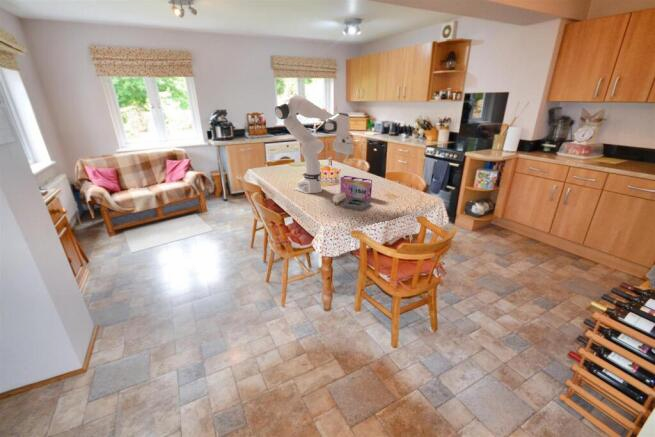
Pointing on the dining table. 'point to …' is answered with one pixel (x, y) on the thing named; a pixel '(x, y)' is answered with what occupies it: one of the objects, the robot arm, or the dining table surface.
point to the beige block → (339, 197)
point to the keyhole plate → (356, 204)
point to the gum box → (356, 187)
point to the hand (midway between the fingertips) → (342, 159)
